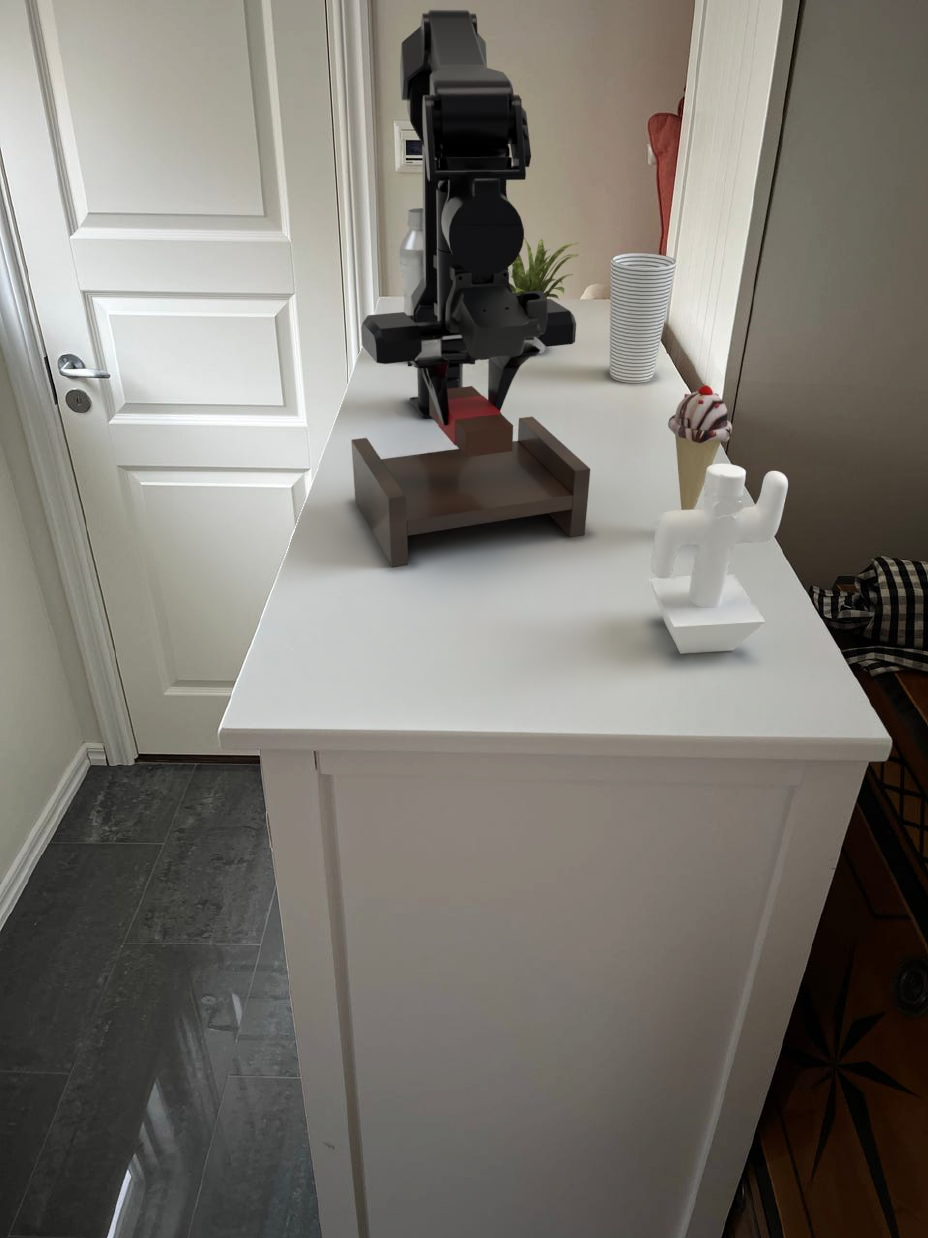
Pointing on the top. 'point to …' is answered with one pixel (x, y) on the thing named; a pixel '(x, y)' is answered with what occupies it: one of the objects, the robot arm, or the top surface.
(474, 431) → the chocolate bar
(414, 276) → the plastic bottle
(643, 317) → the cup
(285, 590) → the top surface
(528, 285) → the house plant
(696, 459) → the ice cream cone
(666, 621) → the figurine
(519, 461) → the shelf
